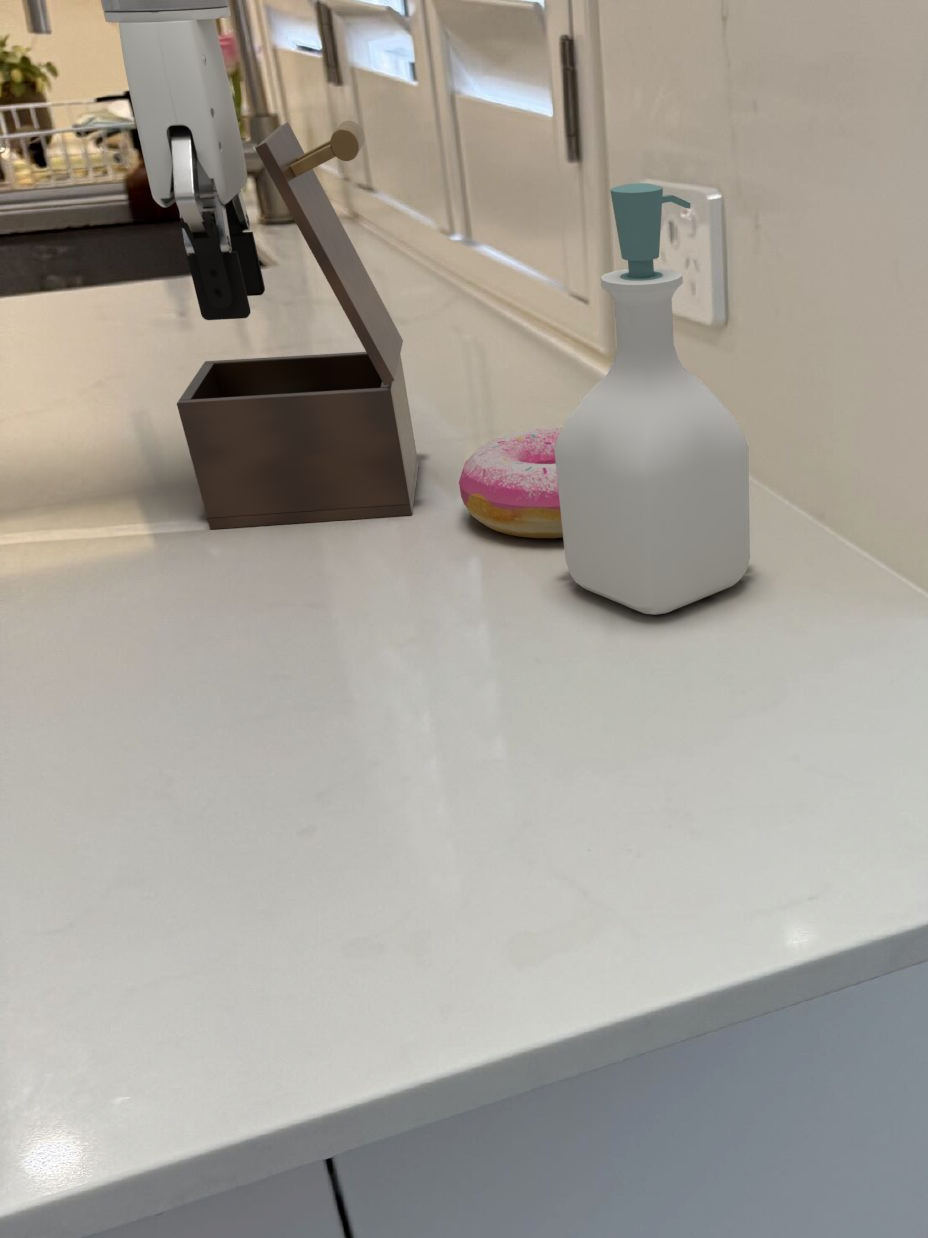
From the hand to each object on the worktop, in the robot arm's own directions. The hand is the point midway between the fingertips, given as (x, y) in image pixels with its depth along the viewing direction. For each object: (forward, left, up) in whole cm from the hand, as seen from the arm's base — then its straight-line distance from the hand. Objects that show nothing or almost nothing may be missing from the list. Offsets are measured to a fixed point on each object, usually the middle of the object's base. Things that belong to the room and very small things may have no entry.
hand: (234, 304), depth 93 cm
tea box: (+3, 0, -14) cm, 14 cm away
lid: (+7, 0, +3) cm, 8 cm away
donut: (+21, -8, -14) cm, 26 cm away
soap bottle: (+27, -23, -14) cm, 38 cm away
